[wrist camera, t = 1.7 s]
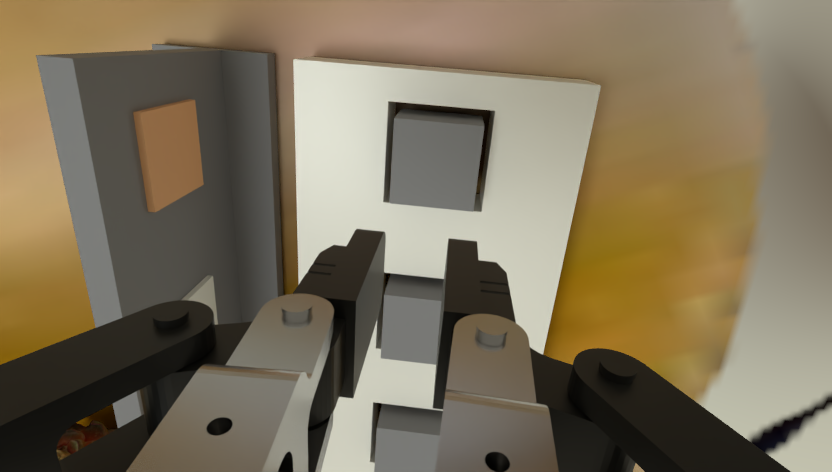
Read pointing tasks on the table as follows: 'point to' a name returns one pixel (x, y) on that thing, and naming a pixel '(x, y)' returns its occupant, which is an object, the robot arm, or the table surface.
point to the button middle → (411, 318)
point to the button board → (432, 227)
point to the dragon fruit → (80, 437)
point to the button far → (407, 439)
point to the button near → (435, 159)
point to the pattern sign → (170, 179)
